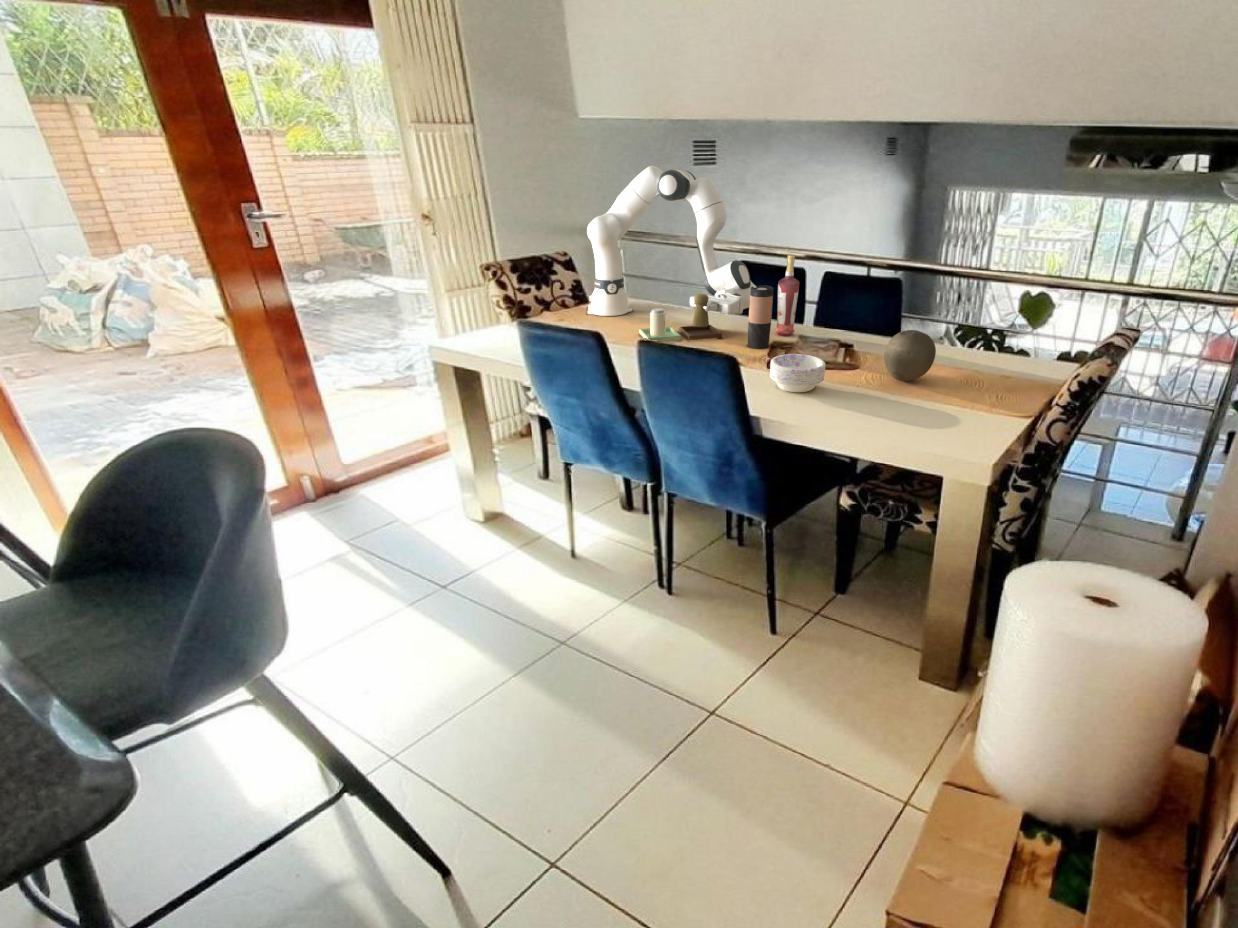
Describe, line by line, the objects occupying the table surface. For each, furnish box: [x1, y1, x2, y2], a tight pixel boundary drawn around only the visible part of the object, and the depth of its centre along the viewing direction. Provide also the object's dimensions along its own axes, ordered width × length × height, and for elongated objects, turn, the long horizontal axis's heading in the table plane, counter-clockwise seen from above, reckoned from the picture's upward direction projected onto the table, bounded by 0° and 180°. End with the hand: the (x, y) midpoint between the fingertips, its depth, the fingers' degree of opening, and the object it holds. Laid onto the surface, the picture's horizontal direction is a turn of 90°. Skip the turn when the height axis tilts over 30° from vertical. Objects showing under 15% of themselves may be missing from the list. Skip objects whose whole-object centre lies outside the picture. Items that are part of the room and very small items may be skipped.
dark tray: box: [678, 324, 723, 341], centre depth 257 cm, size 13×12×2 cm
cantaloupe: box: [883, 329, 937, 382], centre depth 203 cm, size 14×14×15 cm
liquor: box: [775, 254, 800, 337], centre depth 250 cm, size 7×7×28 cm
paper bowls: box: [769, 353, 827, 393], centre depth 201 cm, size 15×15×8 cm
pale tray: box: [638, 326, 682, 342], centre depth 255 cm, size 13×12×2 cm
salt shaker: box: [649, 307, 667, 337], centre depth 252 cm, size 6×6×10 cm
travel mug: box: [747, 285, 774, 350], centre depth 239 cm, size 8×8×20 cm
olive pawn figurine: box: [691, 293, 710, 327], centre depth 253 cm, size 6×6×11 cm
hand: (699, 307), depth 253 cm, fingers closed on olive pawn figurine, 4 cm apart
